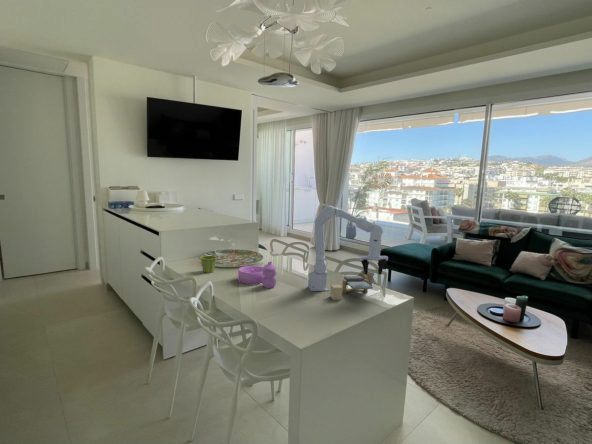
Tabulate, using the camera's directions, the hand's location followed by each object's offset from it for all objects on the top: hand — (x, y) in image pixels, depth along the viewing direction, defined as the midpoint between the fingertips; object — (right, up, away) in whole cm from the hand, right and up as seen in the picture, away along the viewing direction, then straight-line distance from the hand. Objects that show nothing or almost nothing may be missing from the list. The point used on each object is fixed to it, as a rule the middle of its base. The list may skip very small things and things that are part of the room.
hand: (372, 274), depth 165 cm
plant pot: (-92, -3, +28) cm, 96 cm away
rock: (0, -9, +14) cm, 17 cm away
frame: (-9, -10, +3) cm, 14 cm away
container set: (-60, -7, +11) cm, 61 cm away
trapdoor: (-8, -7, -1) cm, 10 cm away
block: (-20, -11, -7) cm, 23 cm away
